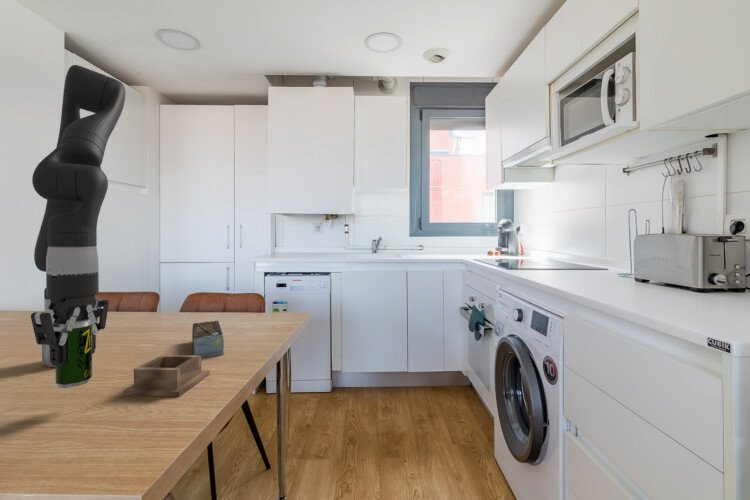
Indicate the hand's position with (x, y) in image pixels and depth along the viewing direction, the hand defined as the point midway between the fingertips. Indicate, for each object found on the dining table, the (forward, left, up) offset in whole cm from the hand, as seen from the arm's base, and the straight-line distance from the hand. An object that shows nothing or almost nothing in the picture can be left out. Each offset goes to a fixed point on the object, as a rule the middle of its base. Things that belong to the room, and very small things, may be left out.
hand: (74, 359), depth 67 cm
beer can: (0, 0, -5) cm, 5 cm away
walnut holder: (+11, +12, -10) cm, 19 cm away
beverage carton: (+5, +39, -10) cm, 41 cm away
